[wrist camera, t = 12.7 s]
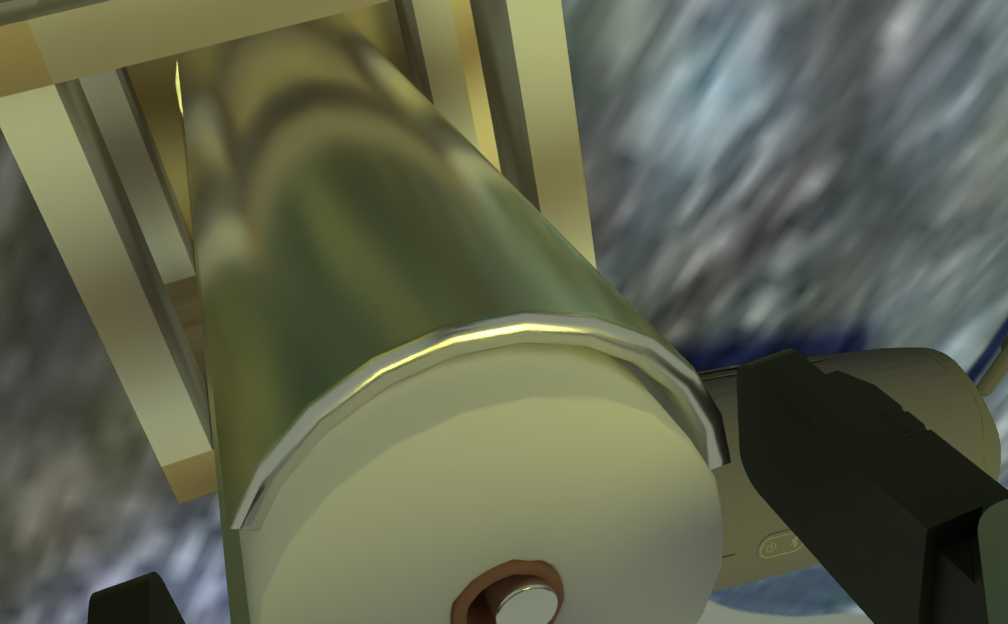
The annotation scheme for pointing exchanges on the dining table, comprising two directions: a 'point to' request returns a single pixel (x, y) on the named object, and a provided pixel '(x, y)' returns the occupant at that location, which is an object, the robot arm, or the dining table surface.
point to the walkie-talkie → (995, 371)
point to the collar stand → (162, 168)
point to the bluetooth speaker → (897, 372)
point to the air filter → (423, 367)
